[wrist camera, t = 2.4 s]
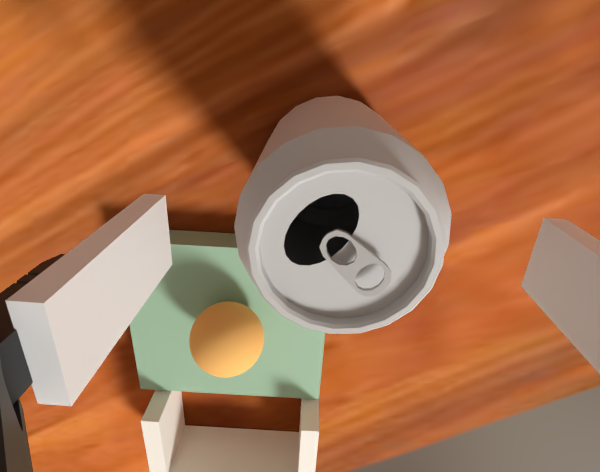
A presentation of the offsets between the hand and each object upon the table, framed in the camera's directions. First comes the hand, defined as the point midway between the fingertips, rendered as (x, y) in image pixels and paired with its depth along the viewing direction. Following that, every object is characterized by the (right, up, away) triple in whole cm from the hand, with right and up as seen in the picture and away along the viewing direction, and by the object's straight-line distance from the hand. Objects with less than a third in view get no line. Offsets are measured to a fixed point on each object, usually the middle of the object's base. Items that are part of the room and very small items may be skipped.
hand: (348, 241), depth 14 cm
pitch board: (-7, -5, +14) cm, 16 cm away
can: (0, +5, +9) cm, 10 cm away
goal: (-7, -14, +18) cm, 24 cm away
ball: (-6, -6, +9) cm, 13 cm away
